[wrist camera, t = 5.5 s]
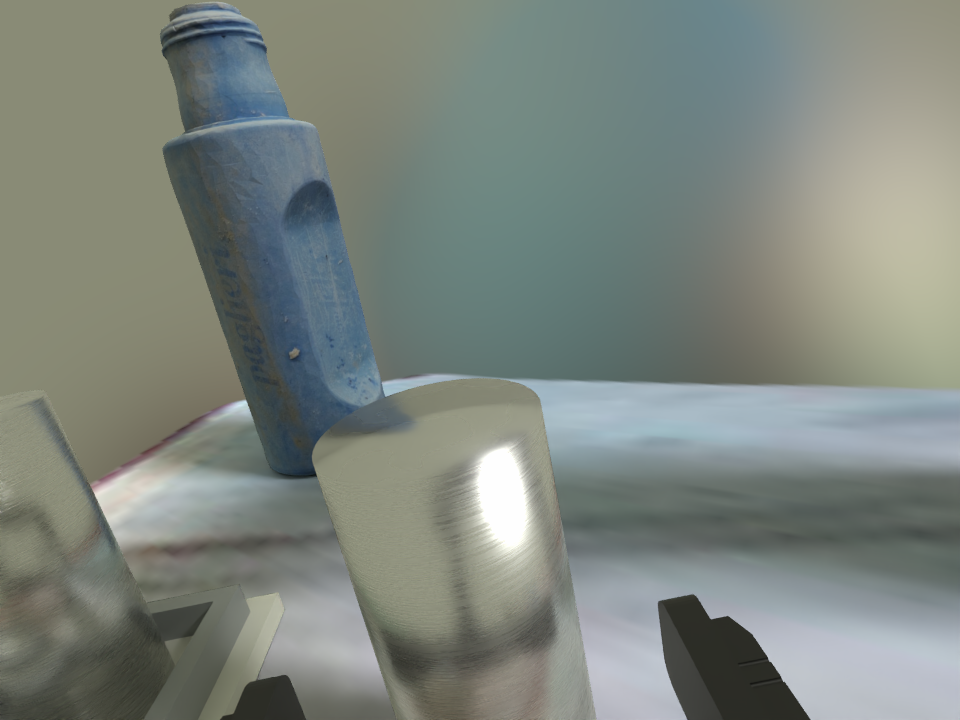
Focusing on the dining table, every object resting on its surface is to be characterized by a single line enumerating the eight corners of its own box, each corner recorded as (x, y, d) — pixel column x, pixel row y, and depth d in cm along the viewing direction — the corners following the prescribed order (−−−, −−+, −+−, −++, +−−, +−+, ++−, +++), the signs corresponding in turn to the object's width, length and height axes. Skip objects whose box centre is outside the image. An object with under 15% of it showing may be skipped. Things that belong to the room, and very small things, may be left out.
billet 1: (197, 695, 20) (59, 399, 16) (33, 819, 16) (-186, 482, 13) (155, 638, 23) (33, 384, 20) (12, 731, 20) (-165, 445, 16)
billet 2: (643, 778, 15) (586, 389, 12) (540, 974, 12) (416, 514, 8) (509, 691, 19) (433, 371, 15) (399, 825, 15) (269, 454, 12)
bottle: (322, 420, 48) (210, 49, 39) (417, 419, 44) (315, 5, 35) (241, 476, 40) (77, 23, 31) (349, 481, 36) (194, -39, 27)
